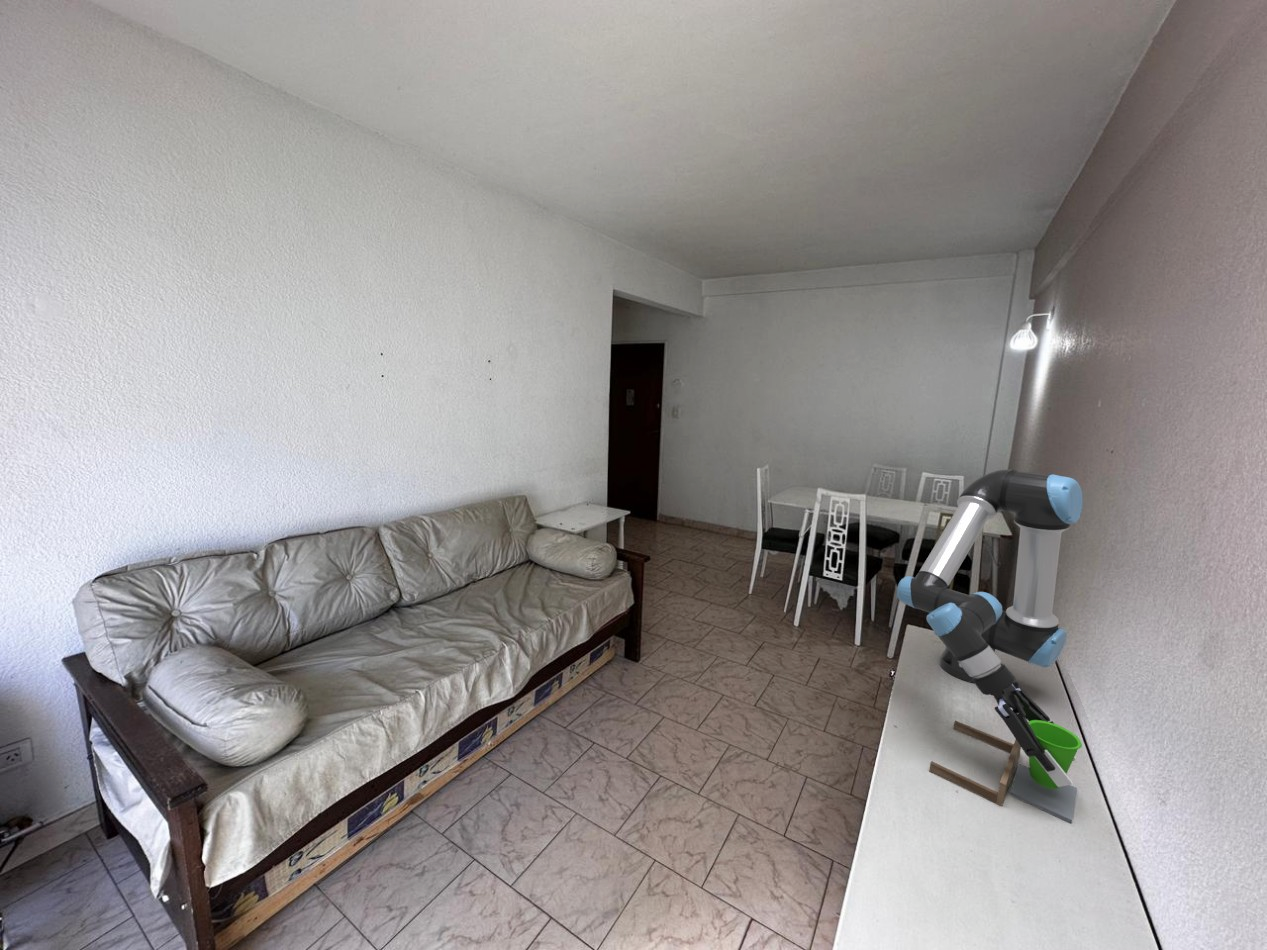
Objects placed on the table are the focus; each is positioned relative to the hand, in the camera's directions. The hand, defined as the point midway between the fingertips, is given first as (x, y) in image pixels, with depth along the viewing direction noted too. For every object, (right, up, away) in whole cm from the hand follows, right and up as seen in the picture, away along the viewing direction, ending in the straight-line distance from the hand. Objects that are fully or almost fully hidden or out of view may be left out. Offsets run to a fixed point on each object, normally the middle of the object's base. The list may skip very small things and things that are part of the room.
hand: (1067, 772), depth 104 cm
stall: (-11, -5, +12) cm, 18 cm away
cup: (-2, -4, +3) cm, 5 cm away
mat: (-2, -6, +3) cm, 8 cm away
